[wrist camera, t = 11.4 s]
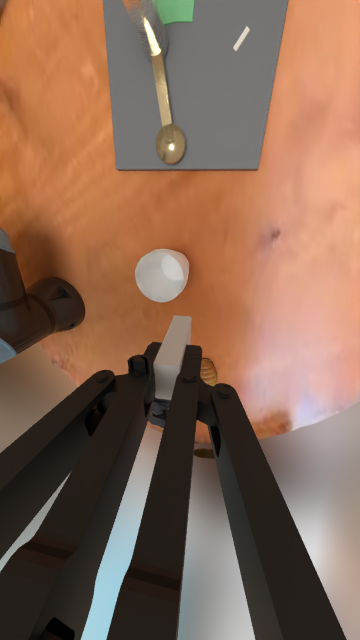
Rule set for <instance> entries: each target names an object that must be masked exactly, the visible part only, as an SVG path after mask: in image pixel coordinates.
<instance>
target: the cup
mask: <svg viewBox="0 0 360 640" xmlns="http://www.w3.org/2000/svg"><path fill="white" fill-rule="evenodd" d="M188 274H189V262H188V259H187V258H186V256H185V255H184V254H182V253H180V252H177V251H173V250H169V249H157V250H154V251H152V252H150V253H148V254H146V255H144V256H143V257H142V258H141V259H140V260H139V262H138V264H137V266H136V270H135V279H136V283H137V286H138V288H139V290H140V291H141V292H142V293H143V295H145V296H146V297H147V298H149V299H150V300H152V301H155V302H168V301H171V300H173V299H174V298H176V297H177V296H178V295H179V294H180V293H181V292H182V291H183V289H184V288H185V286H186V284H187V280H188Z"/></svg>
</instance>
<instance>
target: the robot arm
mask: <svg viewBox="0 0 360 640" xmlns="http://www.w3.org/2000/svg"><path fill="white" fill-rule="evenodd" d="M15 254H16V252H15V251H14V250H13V248H12V245H11V242H10V239H9V236H8V234H7V233H6V232H5V231H4V230H3V229H1V228H0V363H2V362H4V361H6V360H8V359H10V358H13V357H15V356H16V355H17V354H19V353H20V352H22V351H24V350H25V349H27V348H29V347H30V346H32V345H34V344H35V343H37V342H39V341H40V340H42V339H44V338H45V337H47V336H49V335H50V334H53V333H57V332H62V331H67V330H70V329H73V328H75V327H76V326H78V325H79V324H80V323H81V322H82V321H83V319H84V315H85V308H84V304H83V301H82V299H81V297H80V295H79V293H78V292H77V291H76V290H75V288H74V287H73V286H71V285H70V284H69V283H68V282H66V281H64V280H62V279H60V278H56V277H49V278H45V279H41V280H39V281H37V282H35V283H34V284H33V285H32V286H30V287H29V288H28V289H26V290H25V287H24V284H23V280H22V277H21V273H20V270H19V267H18V263H17V260H16V256H15ZM190 340H191V317H190V316H176V315H174V317H173V320H172V322H171V324H170V326H169V329H168V331H167V333H166V336H165V338H164V340H163V342H162V343H159V342H152V343H151V344H150V345H148V347H147V349H146V351H145V353H144V354H143V355H135V356H133V357H131V358H129V359H128V367H129V373H128V374H124V375H117V376H115V375H114V373H113V372H112V371H110V370H101V371H99V372H96V373H95V374H93V375H92V376H91V377H90V378H89V379H87V380H86V381H85V382H84V383H83V384H82V385H80V386H79V387H78V388H77V389H76V390H75V391H74V392H72V393H71V394H70V395H69V396H67V397H66V398H65V399H64V400H63V401H62V402H60V403H59V404H58V405H57V406H56V407H54V408H53V409H52V410H51V411H50V412H48V413H47V414H46V415H45V416H44V417H43V418H41V419H40V420H39V421H38V422H37V423H35V424H34V425H33V426H32V427H31V428H30V429H28V430H27V431H26V432H25V433H24V434H23V435H21V436H20V437H19V438H18V439H17V440H15V441H14V442H13V443H12V444H11V445H10V446H8V447H7V448H6V449H5V450H4V451H2V452H1V453H0V559H1V558H2V557H3V555H4V554H5V553H6V552H7V551H8V549H9V548H10V547H11V546H12V544H13V543H14V542H15V541H16V539H17V538H18V537H19V536H20V534H21V533H22V532H23V531H24V529H25V528H26V527H27V526H28V525H29V523H30V522H31V521H32V520H33V518H34V517H35V515H37V513H38V512H39V511H40V510H41V508H42V507H43V506H44V505H45V503H46V502H47V501H48V499H49V498H50V497H51V496H52V494H53V493H54V492H55V491H56V490H57V488H58V487H59V486H60V485H61V483H62V482H63V481H64V480H65V478H66V477H67V476H68V475H69V473H70V472H71V471H72V472H71V473H70V475H69V477H68V479H67V480H66V482H65V484H64V486H63V487H62V489H61V491H60V493H59V494H58V496H57V498H56V499H55V501H54V503H53V505H52V507H51V508H50V510H49V512H48V513H47V515H46V517H45V519H44V520H43V522H42V524H41V526H40V527H39V529H38V531H37V532H36V534H35V535H34V536H33V538H32V539H31V540H30V541H28V542H27V543H25V544H24V545H22V546H21V547H19V548H18V549H17V551H16V552H15V553H14V554H13V555H12V556H11V557H10V559H9V560H8V562H7V563H6V565H5V566H4V568H3V569H2V570H1V572H0V640H81V636H82V634H83V630H84V627H85V624H86V621H87V618H88V614H89V611H90V608H91V604H92V599H93V595H94V587H95V581H96V576H97V573H98V569H99V567H100V564H101V561H102V558H103V555H104V552H105V548H106V546H107V543H108V540H109V536H110V534H111V531H112V528H113V525H114V522H115V519H116V515H117V512H118V509H119V506H120V503H121V500H122V497H123V494H124V491H125V488H126V485H127V482H128V479H129V476H130V473H131V470H132V467H133V464H134V461H135V458H136V455H137V452H138V449H139V446H140V443H141V440H142V437H143V434H144V431H145V428H146V425H147V422H148V419H149V416H150V413H151V410H152V407H153V397H154V394H155V397H156V398H159V399H166V400H171V402H170V406H169V410H168V414H167V418H166V422H165V426H164V430H163V434H162V438H161V442H160V446H159V451H158V455H157V459H156V463H155V467H154V471H153V475H152V479H151V483H150V487H149V491H148V495H147V499H146V503H145V507H144V511H143V515H142V519H141V523H140V528H139V532H138V536H137V540H136V544H135V548H134V552H133V556H132V559H131V563H130V565H129V568H128V570H127V572H126V574H125V576H124V579H123V582H122V585H121V588H120V591H119V594H118V598H117V602H116V605H115V609H114V613H113V617H112V621H111V624H110V628H109V632H108V636H107V640H177V637H178V625H179V613H180V601H181V590H182V579H183V578H182V577H183V567H184V555H185V545H186V534H187V522H188V510H189V499H190V488H191V477H192V466H193V454H194V443H195V432H196V421H197V420H199V421H201V422H203V423H205V424H207V425H208V430H209V434H210V439H211V443H212V448H213V452H214V457H215V461H216V465H217V470H218V474H219V479H220V483H221V488H222V492H223V497H224V501H225V505H226V509H227V514H228V519H229V523H230V528H231V532H232V537H233V541H234V546H235V550H236V555H237V559H238V564H239V568H240V572H241V577H242V581H243V586H244V590H245V595H246V599H247V603H248V608H249V613H250V617H251V621H252V626H253V630H254V635H255V639H256V640H346V637H345V635H344V633H343V631H342V628H341V626H340V624H339V622H338V620H337V617H336V615H335V613H334V610H333V608H332V606H331V604H330V602H329V599H328V597H327V595H326V592H325V590H324V588H323V586H322V583H321V581H320V579H319V577H318V574H317V572H316V570H315V568H314V566H313V563H312V561H311V559H310V556H309V554H308V552H307V550H306V547H305V545H304V543H303V541H302V538H301V536H300V534H299V532H298V529H297V527H296V525H295V523H294V520H293V518H292V516H291V514H290V511H289V509H288V507H287V505H286V502H285V500H284V498H283V496H282V493H281V491H280V489H279V487H278V484H277V482H276V480H275V478H274V475H273V473H272V471H271V469H270V466H269V464H268V462H267V460H266V457H265V455H264V453H263V451H262V448H261V446H260V444H259V442H258V439H257V437H256V435H255V433H254V430H253V428H252V426H251V424H250V421H249V419H248V417H247V415H246V412H245V410H244V408H243V406H242V403H241V401H240V399H239V397H238V394H237V392H236V391H235V389H234V388H233V387H231V386H230V385H228V384H224V383H219V384H216V385H214V386H211V385H209V384H207V383H205V382H204V381H203V380H202V379H201V376H200V373H201V361H202V349H201V347H200V346H195V345H190Z"/></svg>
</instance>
